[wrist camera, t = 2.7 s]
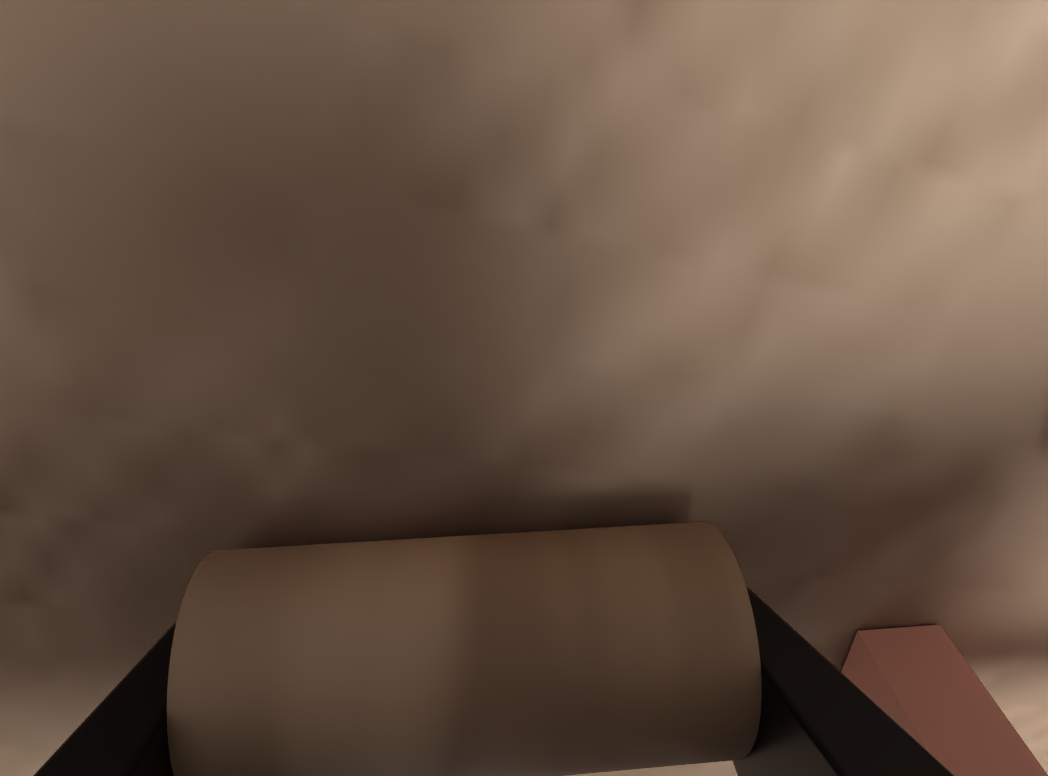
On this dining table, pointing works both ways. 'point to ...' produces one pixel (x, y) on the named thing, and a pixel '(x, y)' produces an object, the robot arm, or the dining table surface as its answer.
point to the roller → (466, 656)
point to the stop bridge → (938, 700)
